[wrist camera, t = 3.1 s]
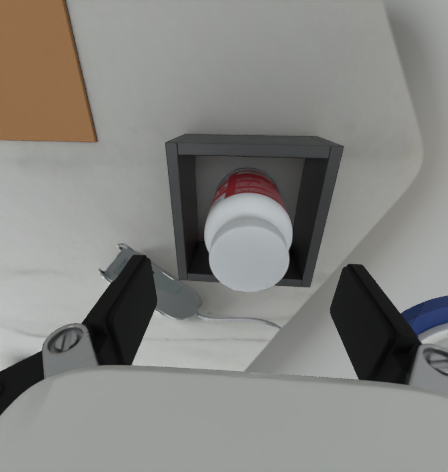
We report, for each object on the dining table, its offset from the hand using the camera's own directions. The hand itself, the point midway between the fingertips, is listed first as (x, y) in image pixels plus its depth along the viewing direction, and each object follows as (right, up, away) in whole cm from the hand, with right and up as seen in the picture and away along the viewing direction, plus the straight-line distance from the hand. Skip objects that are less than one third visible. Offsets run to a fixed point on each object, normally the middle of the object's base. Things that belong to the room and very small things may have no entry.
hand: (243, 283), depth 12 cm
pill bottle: (+1, +6, +12) cm, 13 cm away
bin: (+1, +6, +12) cm, 13 cm away
